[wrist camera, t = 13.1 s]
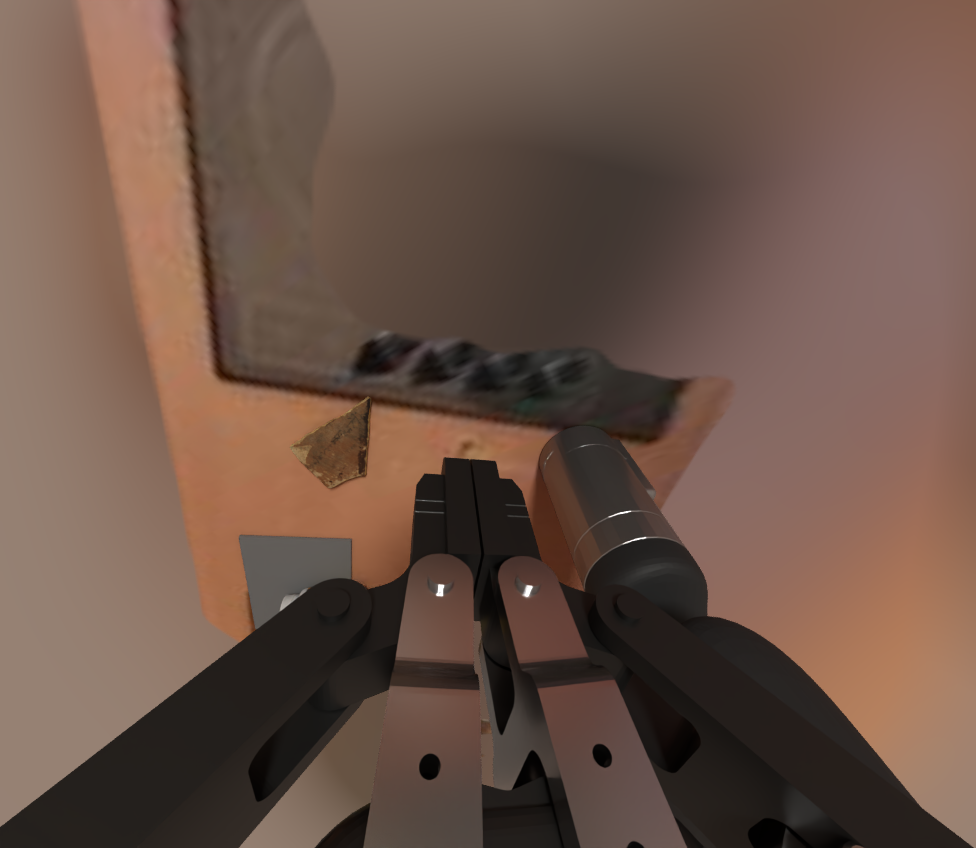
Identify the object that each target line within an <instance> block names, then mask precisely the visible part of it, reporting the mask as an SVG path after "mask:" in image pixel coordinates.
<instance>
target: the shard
mask: <svg viewBox="0 0 976 848" xmlns="http://www.w3.org/2000/svg"><path fill="white" fill-rule="evenodd" d="M370 408H371V398H369V397H367V398H365V399H364V400H363V401H361V402H360V403H358V404H357V405H356V406H354V407H353V408H352V409H351V410H349V411H348V412H346V413H345V414H344V415H342V416H340V417H338V418H335V419H332V420H331V421H329V422H328V423H326V424H325V425H323V426H321V427H319V428H317V429H316V430H315V431H313V432H311V433H308V434H306V435H305V436H304V437H303V438H302V439H301V440H299V441H297V442H296V443H294V444H292V445H291V446H290V448H291V450H292V452H293V453H294V454H295V455H296V456H297V458H298V459H299V461H300V462H301V463H302V464H304V466H305V467H306V468H307V469H308V470H310V471H311V472H312V473H313V474H314V475H315V476H316V477H317V478H319V479H320V480H321V482H322V483H323V484H324V485H325V486H326V487H329V488H333V487H335V486H337V485H338V484H340V483H342V482H344V481H346V480H348V479H352V478H354V477H357V476H365V475H366V463H367V448H368V440H369V428H370V426H369V424H370Z"/></svg>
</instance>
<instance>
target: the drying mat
mask: <svg viewBox="0 0 976 848" xmlns="http://www.w3.org/2000/svg"><path fill="white" fill-rule="evenodd" d="M239 542H240V547H241V553H242V558H243V564H244V569H245V575H246V580H247V585H248V591H249V596H250V602H251V607H252V612H253V618H254V623H255V629H258V628H259V627H260V626H262V625H263V624H264V623H266V622H267V621H268V620H270V619H271V618H272V617H273V616H275V615H276V614H277V613H279V612H280V607H281V604H282V601H283V599H284V597H285V596H286V595H294V594H296V595H297V594H299V595H300V593H301V591H302V590H304V589H305V588H311V587H313V586H314V585H316V584H318V583H320V582H323V581H325V580H329V579H334V578H346V579H351V568H352V539H338V538H310V537H282V536H254V535H240V536H239Z"/></svg>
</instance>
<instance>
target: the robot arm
mask: <svg viewBox="0 0 976 848" xmlns="http://www.w3.org/2000/svg"><path fill="white" fill-rule="evenodd" d="M539 465H540V470H541V473H542V476H543V480H544V482H545V484H546V487H547V490H548V493H549V496H550V498H551V501H552V504H553V507H554V509H555V512H556V515H557V518H558V520H559V523H560V526H561V528H562V531H563V534H564V537H565V539H566V542H567V545H568V548H569V550H570V553H571V556H572V559H573V561H574V564H575V566H576V569H577V572H578V575H579V577H580V580H581V583H582V586H583V588H584V591H585V592H583V591H580V590H577V589H574V588H571V587H568V586H566V585H564V584H562V583H561V582H559V581H558V579H557V577H556V575H555V573H554V572H553V571H552V570H551V569H550V567H548V566H547V565H546V564H545V563H543V562H542V560H541V557H540V553H539V550H538V546H537V543H536V539H535V536H534V532H533V529H532V525H531V522H530V518H529V514H528V511H527V507H526V504H525V500H524V497H523V493H522V491H521V489H520V488H519V487H518V486H517V485H516V484H515V482H514V481H513V480H512V479H501V478H499V474H498V469H497V464H496V462H495V461H488V460H475V459H470V461H469V459H460V458H446V457H444V459H443V465H442V472H441V475H439V474H424V475H423V477H422V478H421V479H420V481H419V482H418V484H417V486H416V495H415V505H414V515H413V524H412V540H411V554H410V565H409V567H408V569H407V570H406V571H405V572H404V574H402V575H401V576H400V577H399V578H397V579H396V580H394V581H392V582H390V583H388V584H385V585H382V586H379V587H375V588H371V589H368V590H367V589H366V588H365V587H364V586H363V585H362V584H360V583H358V582H357V581H354V580H351V579H346V578H334V579H329V580H325V581H323V582H320V583H318V584H316V585H314V586H313V587H311V588H310V589H308V590H307V591H306V592H305V593H303V594H302V595H301V596H299V597H298V598H297V599H295V600H294V601H293V602H292V603H290V604H289V605H288V606H286V607H285V608H284V609H282V610H281V611H280V612H279V613H277V614H276V615H275V616H273V617H272V618H271V619H270V620H268V621H267V622H266V623H264V624H263V625H262V626H260V627H259V628H258V629H257V630H255V631H254V632H253V633H251V634H250V635H249V636H247V637H246V638H245V639H244V640H242V641H241V642H240V643H238V644H237V645H236V646H235V647H233V648H232V649H231V650H229V651H228V652H227V653H225V654H224V655H223V656H222V657H221V658H219V659H218V660H216V661H215V662H214V663H212V664H211V665H210V666H209V667H207V668H206V669H205V670H203V671H202V672H201V673H199V674H198V675H197V676H196V677H194V678H193V679H192V680H190V681H189V682H188V683H187V684H185V685H184V686H183V687H181V688H180V689H179V690H177V691H176V692H175V693H174V694H172V695H171V696H170V697H168V698H167V699H166V700H164V701H163V702H162V703H161V704H159V705H158V706H157V707H155V708H154V709H153V710H151V711H150V712H149V713H148V714H146V715H145V716H144V717H142V718H141V719H140V720H139V721H137V722H136V723H135V724H133V725H132V726H131V727H129V728H128V729H127V730H126V731H124V732H123V733H122V734H121V735H119V736H118V737H116V738H115V739H114V740H113V741H112V742H110V743H109V744H108V745H106V746H105V747H104V748H103V749H101V750H100V751H98V752H97V753H96V754H94V755H93V756H92V757H91V758H89V759H88V760H87V761H86V762H84V763H83V764H81V765H80V766H79V767H78V768H76V769H75V770H74V771H72V772H71V773H70V774H68V775H67V776H66V777H65V778H63V779H62V780H61V781H59V782H58V783H57V784H55V785H54V786H53V787H52V788H50V789H49V790H48V791H46V792H45V793H44V794H43V795H41V796H40V797H39V798H38V799H36V800H35V801H33V802H32V803H31V804H30V805H28V806H27V807H26V808H24V809H23V810H22V811H21V812H19V813H18V814H17V815H15V816H14V817H13V818H11V819H10V820H9V821H7V822H6V823H5V824H4V825H2V826H1V827H0V848H239V847H240V845H241V844H242V843H243V842H244V841H245V840H246V838H247V837H248V836H249V835H250V834H251V833H252V831H253V830H254V829H255V828H256V827H257V825H258V824H259V823H260V822H261V821H262V820H263V818H264V817H265V816H266V815H267V814H268V813H269V812H270V810H271V809H272V808H273V807H274V806H275V805H276V803H277V802H278V801H279V800H280V799H281V797H282V796H283V795H284V794H285V793H286V792H287V791H288V789H289V788H290V787H291V786H292V784H294V782H295V781H296V780H297V779H298V777H300V775H301V774H302V773H303V772H304V771H305V769H306V768H307V767H308V766H309V765H310V764H311V763H312V761H313V760H314V759H315V758H316V757H317V756H318V754H319V753H320V752H321V751H322V750H323V748H324V747H325V746H326V745H327V744H328V743H329V742H330V740H331V739H332V738H333V737H334V736H335V735H336V733H337V732H338V731H339V730H340V729H341V728H342V726H343V725H344V724H345V722H347V721H348V719H349V718H350V717H351V716H352V715H353V713H354V712H355V711H356V710H357V709H358V708H359V706H360V705H361V703H362V702H363V700H364V699H367V698H369V697H372V696H374V695H377V694H379V693H382V692H384V691H387V690H389V693H388V700H387V705H386V712H385V718H384V724H383V730H382V737H381V742H380V748H379V755H378V761H377V767H376V773H375V779H374V786H373V791H372V798H371V803H369V804H367V805H365V806H364V807H362V808H360V809H358V810H357V811H355V812H353V813H352V814H351V815H349V816H348V817H347V818H345V819H344V820H343V821H341V822H340V823H339V824H338V825H337V826H336V827H334V828H333V829H332V830H331V831H330V832H329V833H328V834H327V835H326V836H325V837H324V838H323V839H322V840H321V841H320V842H319V844H318V845H317V846H316V847H315V848H973V847H972V846H970V845H969V844H968V843H967V842H965V841H964V840H963V839H962V838H960V837H959V836H957V835H956V834H955V833H954V832H952V831H951V830H950V829H949V828H947V827H946V826H945V825H943V824H942V823H941V822H939V821H938V820H937V819H935V818H934V817H933V816H931V815H930V814H929V813H928V812H926V811H925V810H924V809H922V808H921V807H920V805H919V804H918V803H917V802H916V801H915V799H914V798H913V797H912V796H911V795H910V793H909V792H908V791H907V790H906V789H905V787H904V786H903V785H902V784H901V782H900V781H899V780H898V779H897V778H896V776H895V775H894V774H893V773H892V771H891V770H890V769H889V768H888V767H887V765H886V764H885V763H884V762H883V761H882V759H881V758H880V757H879V756H878V754H877V753H876V752H875V751H874V750H873V748H872V747H871V746H870V745H869V744H868V742H867V741H866V740H865V739H864V738H863V736H861V734H860V733H859V732H858V730H857V729H856V728H855V727H854V726H853V724H852V723H851V722H850V721H849V720H848V718H847V717H846V716H845V715H844V714H843V713H842V711H841V710H840V709H839V708H838V707H837V706H836V705H835V703H834V702H833V701H832V700H831V699H830V698H829V697H828V696H827V694H826V693H825V692H824V691H823V690H822V689H821V688H820V687H819V686H818V685H817V684H816V683H815V682H814V680H813V679H812V678H811V677H810V676H808V675H807V674H806V673H805V671H804V670H803V669H802V668H801V667H800V666H798V665H797V664H796V663H795V662H794V661H793V660H791V659H790V658H789V657H788V656H787V655H786V654H785V653H783V652H782V651H781V650H780V649H778V648H777V647H776V646H775V645H773V644H772V643H771V642H769V641H768V640H766V639H765V638H763V637H762V636H760V635H759V634H757V633H755V632H754V631H752V630H750V629H748V628H746V627H744V626H742V625H740V624H738V623H735V622H732V621H729V620H726V619H722V618H718V617H709V616H707V600H708V591H707V584H706V580H705V577H704V575H703V573H702V571H701V569H700V567H699V566H698V565H697V563H696V561H695V560H694V559H693V557H692V556H691V554H690V553H689V551H688V550H687V549H686V547H685V546H684V544H683V543H682V541H681V540H680V539H679V537H678V536H677V534H676V533H675V531H674V530H673V528H672V527H671V525H670V524H669V523H668V521H667V520H666V518H665V517H664V516H663V514H662V513H661V511H660V510H659V508H658V507H657V505H656V504H655V502H654V501H653V500H654V498H655V495H656V491H655V489H654V488H653V486H652V485H651V484H650V482H649V481H648V479H647V478H646V477H645V475H644V474H643V473H642V471H641V470H640V468H639V467H638V466H637V464H636V463H635V461H634V460H633V459H632V457H631V456H630V454H629V453H628V452H627V450H626V449H625V447H624V446H623V445H622V443H621V442H620V440H614V439H611V438H610V437H609V436H608V435H607V434H606V433H605V432H604V431H602V430H601V429H599V428H595V427H592V426H575V427H572V428H568V429H566V430H564V431H561V432H560V433H558V434H557V435H555V436H554V437H553V438H552V439H551V440H550V441H549V442H548V443H547V444H546V445H545V447H544V448H543V450H542V453H541V455H540V461H539ZM474 621H480V622H481V631H482V636H481V640H480V644H479V659H480V664H481V671H482V676H483V683H484V689H485V695H486V701H487V707H488V712H489V719H490V725H491V731H492V737H493V750H494V753H493V754H494V756H493V780H494V787H490V786H486V785H483V784H482V771H481V719H480V686H479V678H478V675H477V674H475V670H474Z"/></svg>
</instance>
